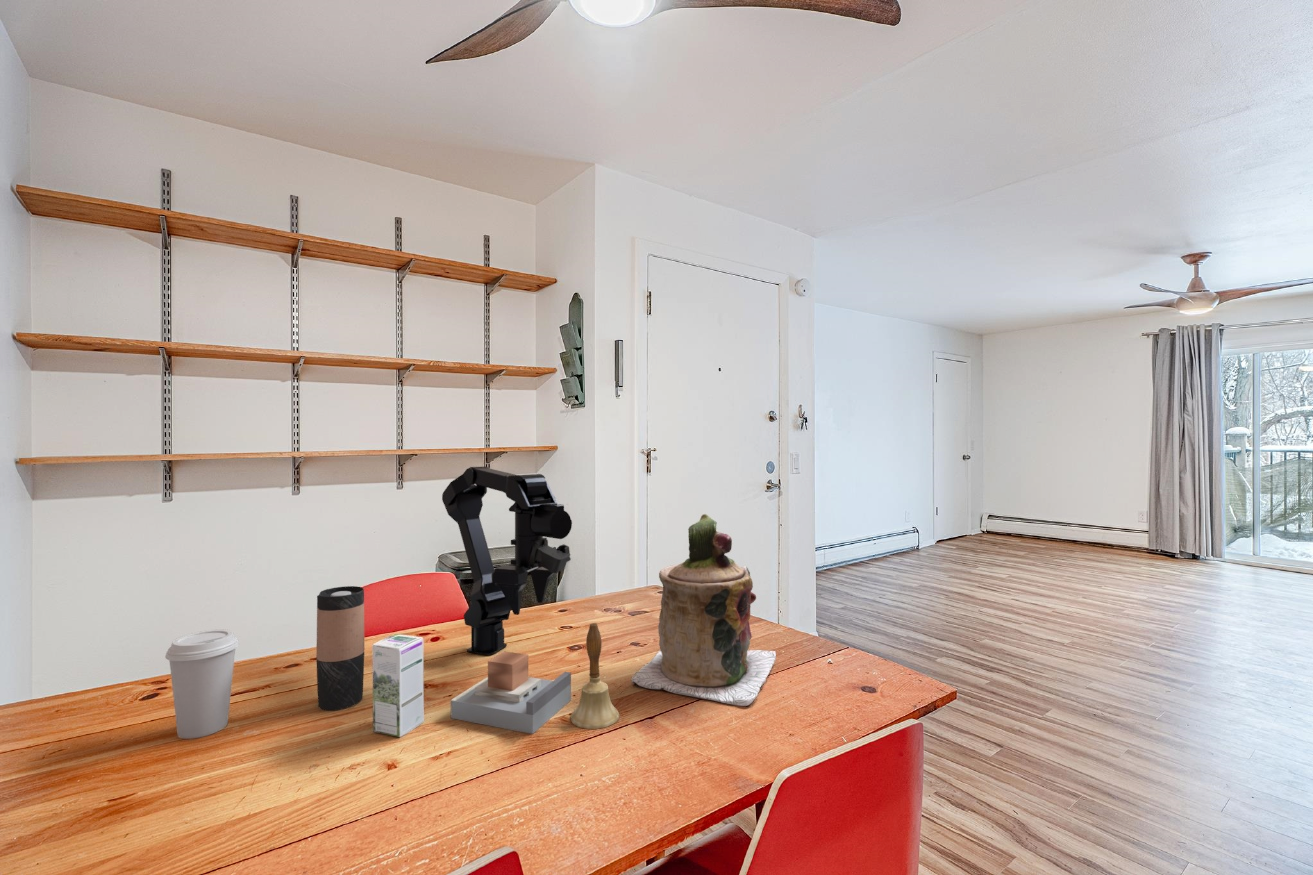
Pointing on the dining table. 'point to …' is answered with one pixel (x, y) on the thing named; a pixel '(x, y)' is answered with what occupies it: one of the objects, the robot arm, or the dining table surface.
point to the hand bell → (594, 691)
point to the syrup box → (398, 684)
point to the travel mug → (340, 647)
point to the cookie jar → (707, 626)
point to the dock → (514, 706)
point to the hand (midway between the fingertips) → (528, 608)
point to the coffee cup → (202, 681)
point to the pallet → (506, 693)
